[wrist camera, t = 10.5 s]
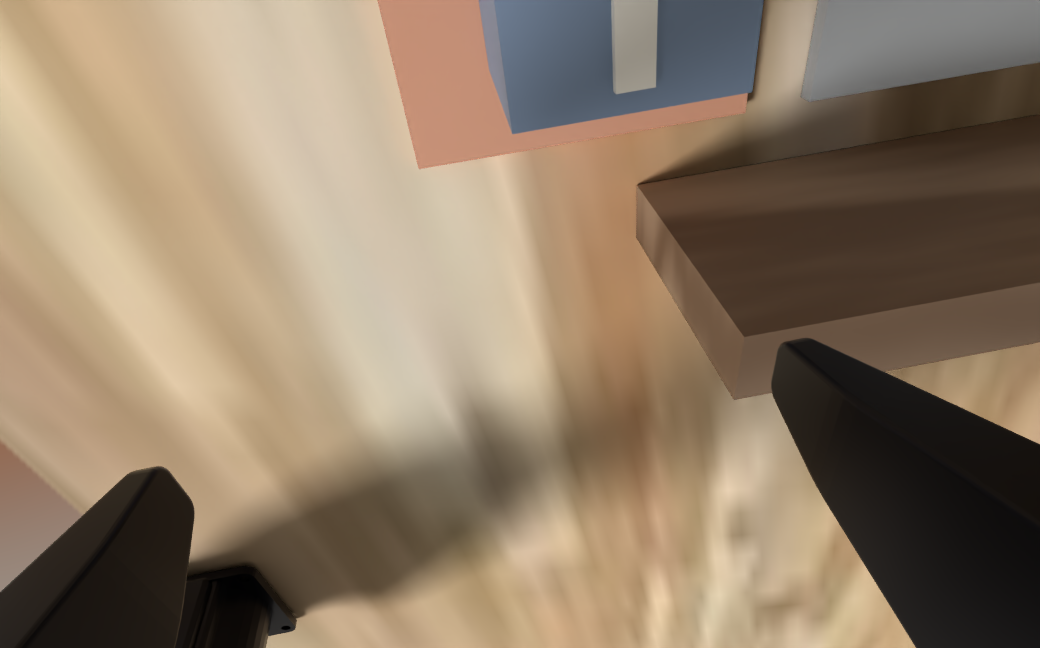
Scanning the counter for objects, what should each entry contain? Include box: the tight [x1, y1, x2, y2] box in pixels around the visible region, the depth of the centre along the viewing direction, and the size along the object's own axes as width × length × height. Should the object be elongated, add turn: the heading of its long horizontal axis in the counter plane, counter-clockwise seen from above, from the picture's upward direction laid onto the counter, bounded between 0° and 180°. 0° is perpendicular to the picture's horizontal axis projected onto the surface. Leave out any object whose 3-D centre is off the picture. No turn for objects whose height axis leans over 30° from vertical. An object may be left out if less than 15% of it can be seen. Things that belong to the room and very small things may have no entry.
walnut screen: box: [636, 115, 1040, 400], centre depth 17 cm, size 2×16×8 cm, turn 97°
